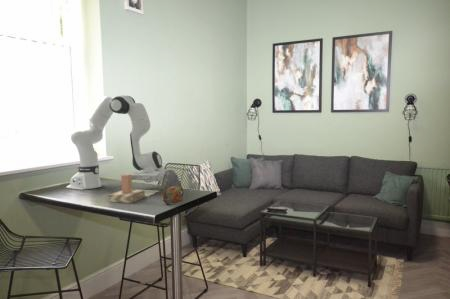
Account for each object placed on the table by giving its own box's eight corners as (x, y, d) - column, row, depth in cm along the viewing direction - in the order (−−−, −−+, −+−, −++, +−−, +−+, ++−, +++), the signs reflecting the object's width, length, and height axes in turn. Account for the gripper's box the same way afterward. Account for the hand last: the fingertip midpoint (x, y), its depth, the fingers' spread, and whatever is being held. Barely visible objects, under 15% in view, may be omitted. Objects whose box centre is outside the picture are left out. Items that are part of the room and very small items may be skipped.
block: (122, 193, 205) (121, 175, 204) (126, 191, 209) (125, 174, 208) (128, 193, 204) (127, 175, 203) (132, 191, 208) (131, 174, 207)
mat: (123, 195, 218) (123, 194, 218) (136, 190, 231) (136, 189, 231) (148, 196, 213) (148, 195, 213) (159, 191, 226) (159, 190, 226)
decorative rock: (168, 198, 208) (167, 172, 206) (158, 197, 211) (157, 171, 209) (185, 192, 222) (184, 167, 220) (176, 191, 225) (175, 167, 223)
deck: (109, 201, 202) (108, 194, 202) (123, 196, 216) (123, 189, 215) (131, 203, 198) (131, 195, 198) (144, 197, 212) (144, 190, 211)
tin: (166, 205, 192) (165, 189, 191) (161, 205, 193) (161, 189, 192) (184, 199, 204) (183, 184, 203) (179, 199, 206) (179, 184, 205)
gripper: (133, 169, 233) (121, 173, 219) (163, 170, 227) (152, 174, 213) (134, 179, 233) (122, 183, 220) (163, 180, 227) (152, 185, 214)
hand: (137, 179), depth 217 cm, fingers open, 8 cm apart
